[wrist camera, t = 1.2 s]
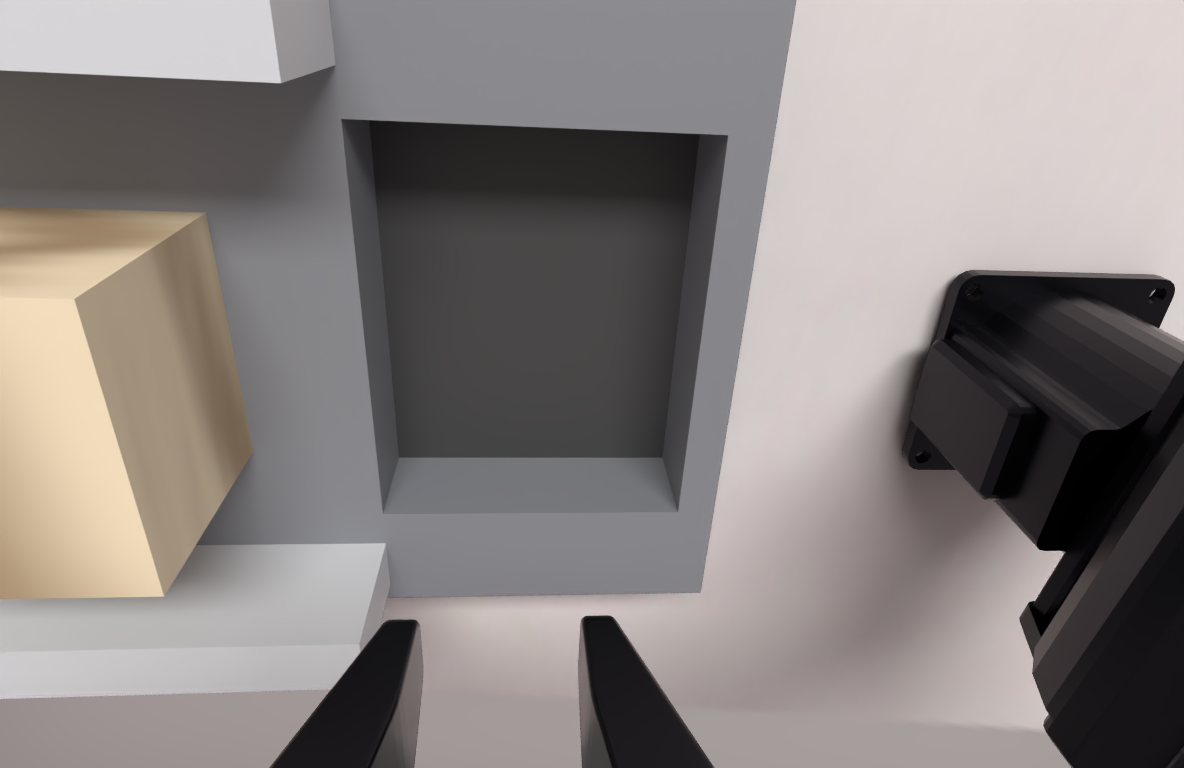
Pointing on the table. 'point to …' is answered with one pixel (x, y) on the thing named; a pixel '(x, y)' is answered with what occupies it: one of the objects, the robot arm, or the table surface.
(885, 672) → the table surface
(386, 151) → the stepped grey tray
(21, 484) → the maple block
